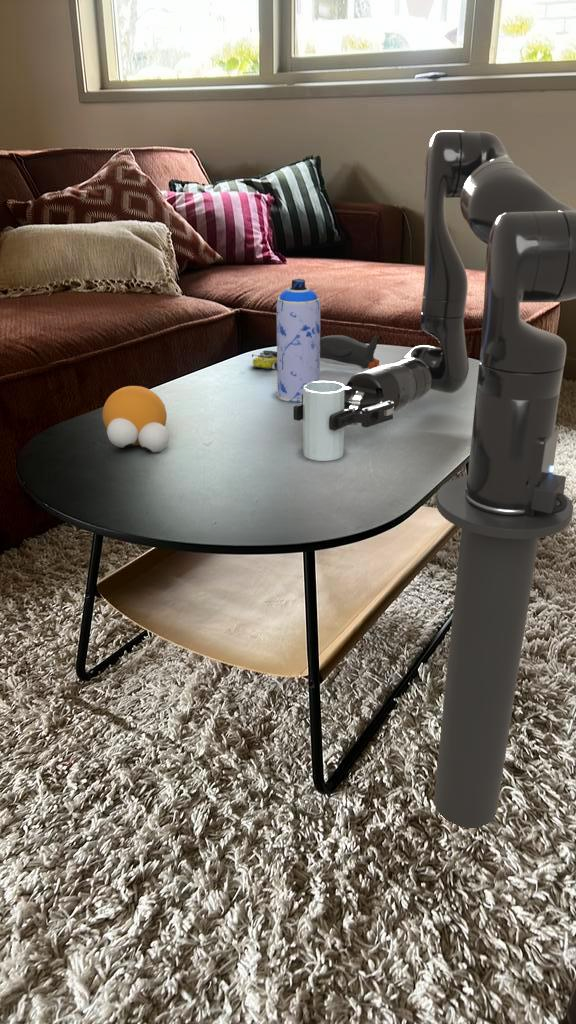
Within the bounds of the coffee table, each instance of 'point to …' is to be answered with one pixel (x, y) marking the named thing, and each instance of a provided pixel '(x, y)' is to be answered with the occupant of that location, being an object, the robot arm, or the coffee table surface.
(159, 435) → the toy
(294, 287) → the aerosol can
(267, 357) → the toy car
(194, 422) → the coffee table surface
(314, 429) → the plastic cup
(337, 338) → the figurine
